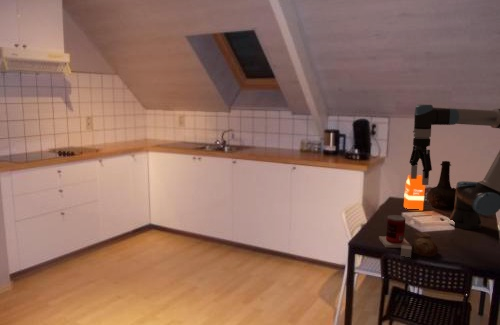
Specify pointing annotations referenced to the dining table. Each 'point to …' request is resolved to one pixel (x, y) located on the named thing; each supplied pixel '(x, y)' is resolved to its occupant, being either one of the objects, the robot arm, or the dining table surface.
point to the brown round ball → (421, 236)
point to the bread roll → (424, 247)
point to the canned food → (395, 228)
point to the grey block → (406, 251)
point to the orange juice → (414, 193)
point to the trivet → (392, 245)
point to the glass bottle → (443, 190)
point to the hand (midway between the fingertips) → (419, 181)
